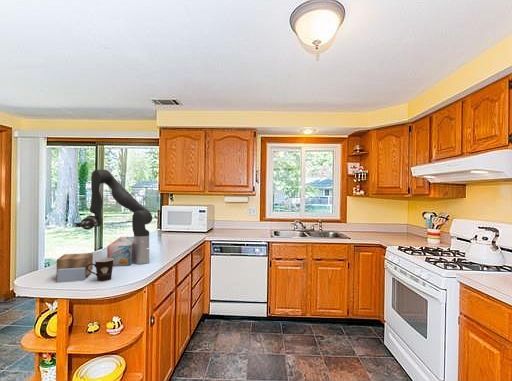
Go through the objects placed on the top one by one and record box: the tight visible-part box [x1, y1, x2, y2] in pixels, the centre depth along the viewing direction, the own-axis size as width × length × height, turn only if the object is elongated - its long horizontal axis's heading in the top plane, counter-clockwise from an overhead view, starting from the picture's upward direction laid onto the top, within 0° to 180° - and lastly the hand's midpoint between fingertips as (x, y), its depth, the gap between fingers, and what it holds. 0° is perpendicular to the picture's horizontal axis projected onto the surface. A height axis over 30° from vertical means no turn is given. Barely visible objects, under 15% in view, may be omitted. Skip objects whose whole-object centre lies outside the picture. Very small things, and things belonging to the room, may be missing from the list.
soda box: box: [106, 236, 134, 267], centre depth 210 cm, size 41×14×13 cm, turn 13°
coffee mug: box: [87, 257, 114, 282], centre depth 162 cm, size 12×9×10 cm
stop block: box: [56, 267, 86, 283], centre depth 160 cm, size 12×2×6 cm, turn 108°
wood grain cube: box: [56, 252, 94, 277], centre depth 168 cm, size 14×14×9 cm
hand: (82, 225), depth 183 cm, fingers closed
